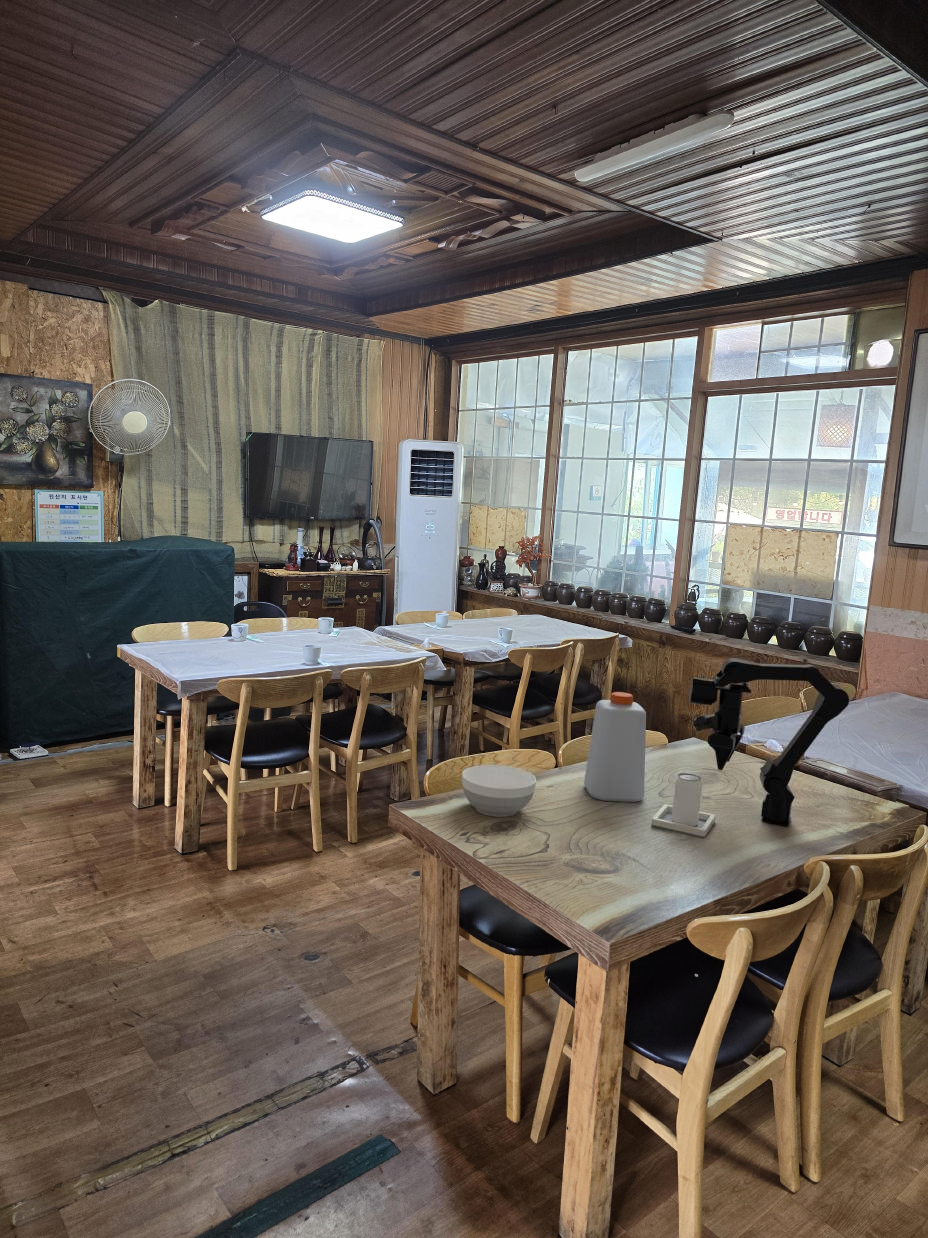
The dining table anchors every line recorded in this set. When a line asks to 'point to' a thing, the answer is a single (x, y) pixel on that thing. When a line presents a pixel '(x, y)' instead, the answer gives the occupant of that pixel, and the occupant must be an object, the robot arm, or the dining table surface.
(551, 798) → the dining table surface
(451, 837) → the dining table surface
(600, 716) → the plastic bottle
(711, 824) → the square tray
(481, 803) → the bowl
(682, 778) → the can
